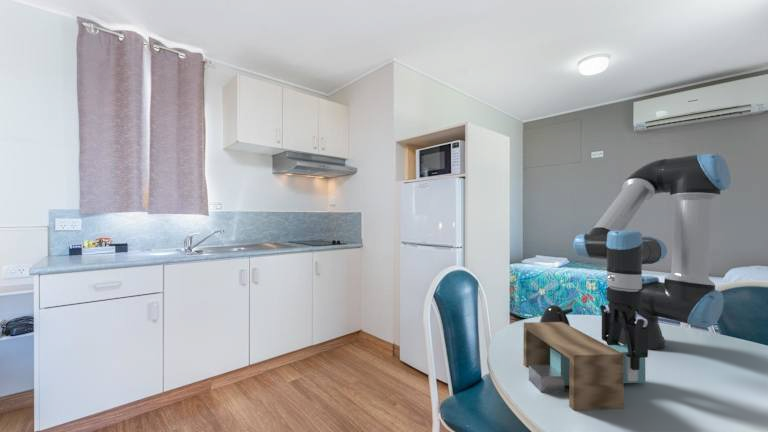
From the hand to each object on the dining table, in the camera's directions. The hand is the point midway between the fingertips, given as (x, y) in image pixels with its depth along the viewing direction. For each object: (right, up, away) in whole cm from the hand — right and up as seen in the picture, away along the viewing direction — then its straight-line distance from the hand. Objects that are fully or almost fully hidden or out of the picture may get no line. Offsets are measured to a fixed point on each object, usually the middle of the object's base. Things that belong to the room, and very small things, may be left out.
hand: (623, 375), depth 84 cm
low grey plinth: (-22, -2, -2) cm, 22 cm away
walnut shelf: (-16, -2, -1) cm, 16 cm away
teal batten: (-7, -1, 0) cm, 7 cm away
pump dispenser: (-8, -2, +19) cm, 20 cm away
